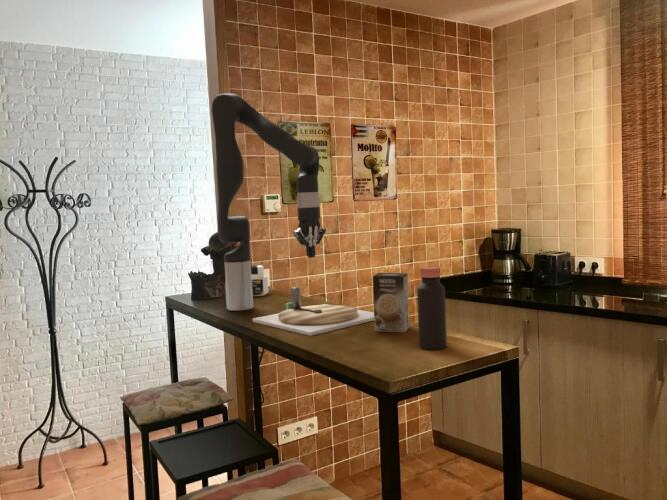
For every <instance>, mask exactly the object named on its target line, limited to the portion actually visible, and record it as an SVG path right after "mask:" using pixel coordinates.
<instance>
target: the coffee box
mask: <svg viewBox="0 0 667 500" xmlns="http://www.w3.org/2000/svg"><path fill="white" fill-rule="evenodd" d="M408 276H409V275H408V273H407V272H377V273H375V274H374V275H373V276H372V287H373V288H372V290H373V291H372V292H373V293H372V294H373V295H372V296H373V312H374V320H373V321H374V323H373V324H374V325H373V326H374V327H373V328H374V329H373V330H374V332H382V333H384V332H385V333H406V332H407V330H409V328H410V322H409V321H410V320H409V319H410V318H409V285H408V280H409V277H408Z"/></svg>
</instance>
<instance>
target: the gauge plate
mask: <svg viewBox="0 0 667 500" xmlns="http://www.w3.org/2000/svg"><path fill="white" fill-rule="evenodd" d="M321 305H329V304H327V303H323V304H321ZM288 309H292V301H290V302H286V303H285V310H288ZM279 313H280V312H279ZM279 313H274V314H269V315H264V316H263V315H262V316H259V317H254V318H252V322H253V323H256V324H260V325H265V326H269V327H272V328H277V329H281V330H286V331H289V332H293V333H297V334H301V335H306V336H308V337H311V336H314V335H320V334H324V333H328V332H331V331H336V330H340V329H344V328H349V327H353V326H357V325H361V324H364V323H369V322H372V321H374V311H366V310H362V309H357V313H358V314H357V316H356V317H354V318H352V319H349V320H345V321H341V322H335V323H327V324H291V323H286V322H282V321H280V320H279V317H278V315H279Z"/></svg>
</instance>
